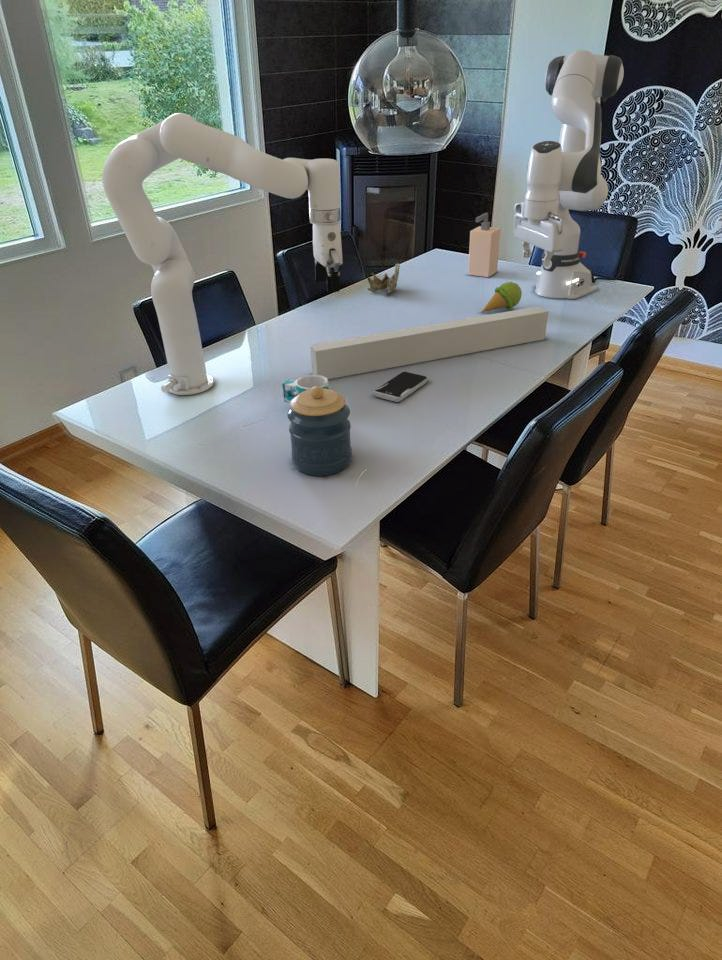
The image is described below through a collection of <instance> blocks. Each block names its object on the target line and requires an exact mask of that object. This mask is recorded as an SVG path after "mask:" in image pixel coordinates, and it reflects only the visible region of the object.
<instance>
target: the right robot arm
mask: <svg viewBox="0 0 722 960" xmlns="http://www.w3.org/2000/svg"><path fill="white" fill-rule="evenodd" d="M624 71H625V70H624V65H623V60H622V58H621V57H619V56H616V55H612V54H609V55H603V54H596V53H595V54H594V53H592V52H591V51H589V50H585V49H579V50H575V51H573V52H571V53H570V54H569V55H567V56H565V55H560V56H556V57H553V59H552V60H550V62H549V63H548V66H547V68H546V71H545V74H544V85H545V91H546V92H547V94H548V95H549V96H551V101H550V107H551V110H552V113H553V114H554V116H555V117H556V119H557V120H558V121H559V122H561V123H560V132H559V138H558V141H553V140H543V141H540V142H537V143H535V144H534V145H533V146H532V147H531V150H530V154H529V158H528V164H527V167H526V179H525V180H526V192H525V194H524V195H525V196H524V201H522V202H518V203H515V204H514V206H513V212H514V213H515V214H514V216H513V227H512V228H513V229H512V231H513V236H514V238H515V239H518V240H520V241H521V242H520V244H521V249H522V257H523V258H526V259H528V258H531V257H532V250H531V249H530V248H531V247H530V245H531V246H534V247H536V248H539V249H541V250H543V251H542V255H541V263H540V264H541V265H540V269H539V271H537V272H536V275H538V279H537V282H536V283H535V290H534V292H535V294H536V295H538V296H541V297H545V298H550V299H569V300H571V299H572V300H577V299H579V298H582V297H584V296H586V295H589V294H590V293H593V292H595V291H597V290H598V286H597V285H596V284H595V283H596V281H597V280H600V281H601V280H602V281H616V280H618V279H619V278H620V277H623V273H622V272H621V271H620V272H618V273H617V276H615V277H605V276H596V277H595V275H594V270H593V269H589V268H587V267H586V266H585V265H584V264H583V263H582V262H581V259H585V258H586V257H587V252H586V251H582V250H581V251H579V247H580V238H581V228H580V225H579V224H578V223H577V222H576V221H575V220H574V219H573V218H572V217H571V214H570V211H571V210H572V211H578V212H579V211H580V212H589V211H597V210H599V209H600V208H601V207H602V206H603V205H604V204H605V203H606V200H607V198H608V195H609V186H608V183H607V181H606V179H605V178H604V177H603V175H602V163H601V162H602V161H601V142H602V141H601V140H602V118H603V117H602V107H601V98H602V102H603V103H604V102H606V101H607V99H609V98H612V97H613V96H614V95H616V93H617V92H618V90H619V88H620V87H621V85H622V83H623V79H624V74H625V72H624ZM569 210H570V211H569Z"/></svg>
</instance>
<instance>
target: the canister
mask: <svg viewBox="0 0 722 960" xmlns="http://www.w3.org/2000/svg"><path fill="white" fill-rule="evenodd" d="M289 404H290V408H289V409H288V411H287V419H288V421H289V422H290V424H289V426H288V432H289V435H290V446H291V460H292V462H293V465H294V467H295V468H296V470H298V471H299V472H301V473H303V474H305V475H311V476H328V475H329V476H330V475H334V474H338V473H339V472H341V471H343V470H345V469H346V468H347V467H349V465H350V463H351V461H352V457H353V449H352V445H351V443H352V442H351V421H350V420H349V416H350V414H351V409H350V407H349V406H348V404H346V399H345V396H343V395H342V394H340V393H338V392H337V391H335V390H333V389H330V388H329V389H324V388H321V387H320V386H314V387H313V388H312V389H310V390H306V391H304V392H302V393H300V394H299V395H298V396H296V397H295V398H293V399H292V401H291V403H289Z"/></svg>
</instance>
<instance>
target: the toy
mask: <svg viewBox="0 0 722 960" xmlns="http://www.w3.org/2000/svg"><path fill="white" fill-rule="evenodd" d="M522 293H523V292H522V288H521V287H520V286H519V284H518V283H515V282H513V281H507V282H505V283H502V284H501V285H500V286H498V287H496V288H495V289H494V294H493V296H491V298H490V300H489V301H488V303H487V304H486V305H485V306H484V308H483V309H482V310H481V313H485V312H490V311H496V310H500V309H506V310H507V311H509V310H511V309H513V308H514V307H516V306H517V305H518V304H520V301H521V299H522V295H523V294H522Z"/></svg>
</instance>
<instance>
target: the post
mask: <svg viewBox="0 0 722 960" xmlns="http://www.w3.org/2000/svg"><path fill="white" fill-rule="evenodd" d="M548 317H549V310H547V309H545V308H544V307H543V308H542V307H541V306H531V307H526V308H521V309H520V308H519V309H515V310H514V309H513V310H510V311H509V310H507V311H503V312H498V313H492V314H491V313H490V314H485V315H479V316H473V317H467V318H461V319H456V320H455V319H454V320H450V321H444V322H438V323H432V324H426V325H419V326H415V327H409V328H401V329H396V330H390V331H384V332H378V333H373V334H366V335H361V336H355V337H349V338H342V339H337V340H332V341H325V342H319V343H312V344H310V345H309V346H310V347H309V349H310V359H311V360H310V361H311V362H310V363H311V373H312V374H311V375H321V376H324V377H326V378H328V380H332V379H337V378H338V379H339V378H343V377H348V376H349V377H350V376H354V375H359V374H360V375H361V374H364V373H370V372H376V371H381V370H385V369H386V370H387V369H393V368H397V367H402V366H407V365H413V364H419V363H425V362H431V361H436V360H440V359H446V358H452V357H456V356H462V355H468V354H473V353H479V352H484V351H489V350H494V349H501V348H505V347H510V346H516V345H521V344H526V343H527V344H528V343H532V342H539V341H545V340H546V335H547V326H548Z"/></svg>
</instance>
